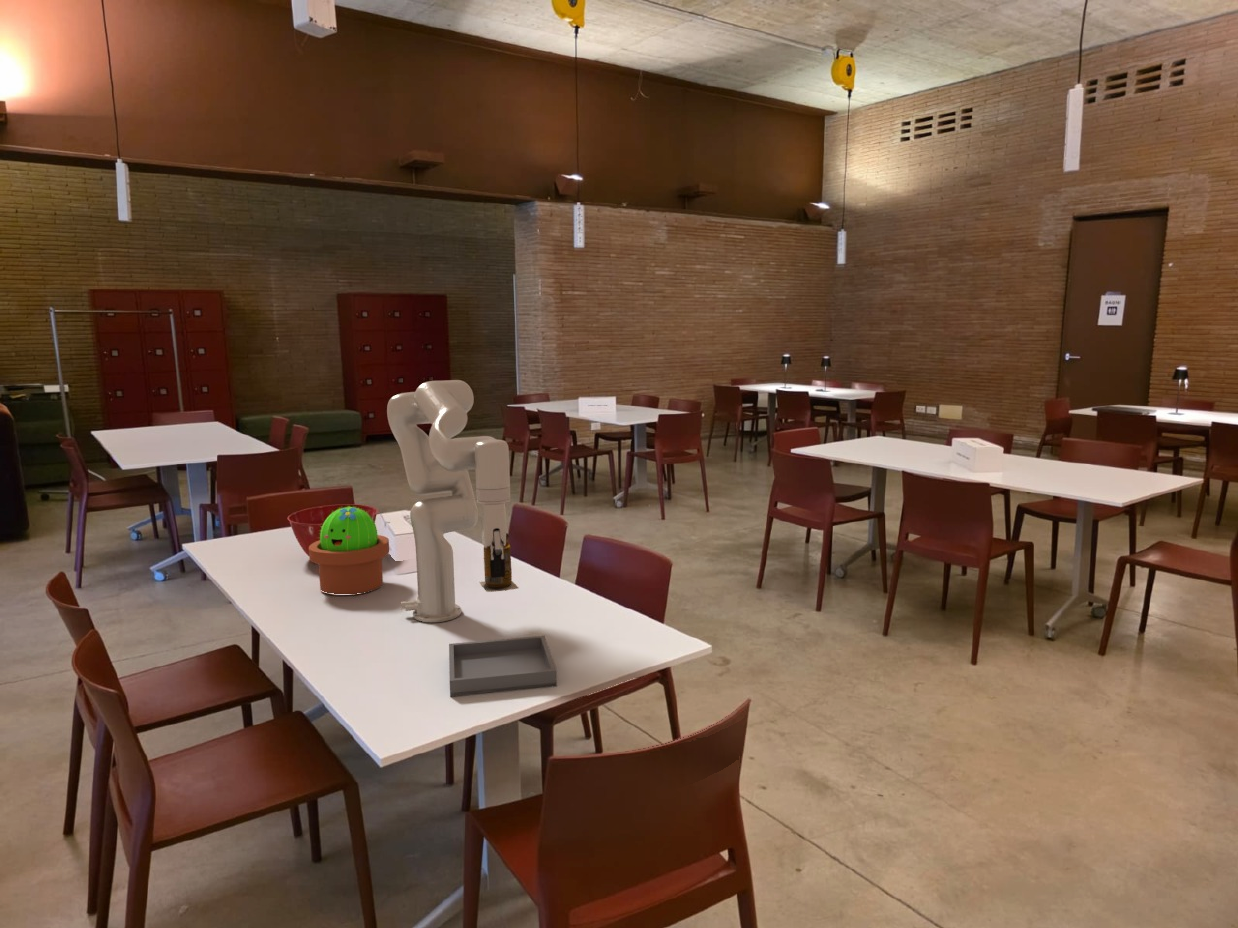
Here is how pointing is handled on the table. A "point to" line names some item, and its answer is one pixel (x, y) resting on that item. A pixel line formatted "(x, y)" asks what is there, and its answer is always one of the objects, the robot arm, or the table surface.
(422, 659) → the table surface
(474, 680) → the tray
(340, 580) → the potted cactus
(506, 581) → the condiment
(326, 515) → the mixing bowl
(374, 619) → the table surface
